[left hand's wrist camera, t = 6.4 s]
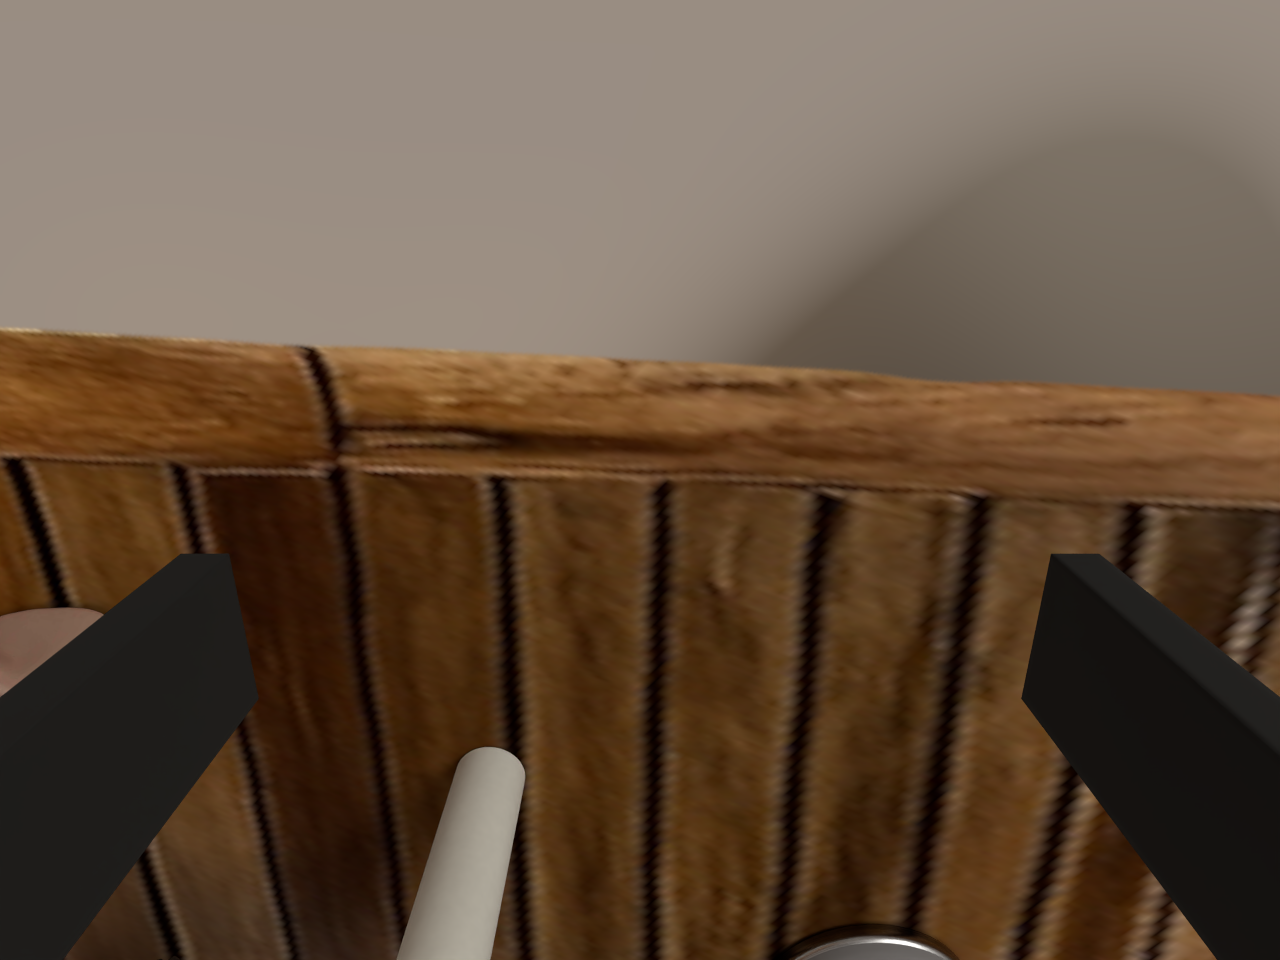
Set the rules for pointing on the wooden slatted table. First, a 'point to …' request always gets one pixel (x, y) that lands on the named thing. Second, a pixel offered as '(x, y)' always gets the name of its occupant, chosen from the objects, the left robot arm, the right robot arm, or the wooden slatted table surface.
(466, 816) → the white tube
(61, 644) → the anatomical model
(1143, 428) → the wooden slatted table surface
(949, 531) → the wooden slatted table surface
